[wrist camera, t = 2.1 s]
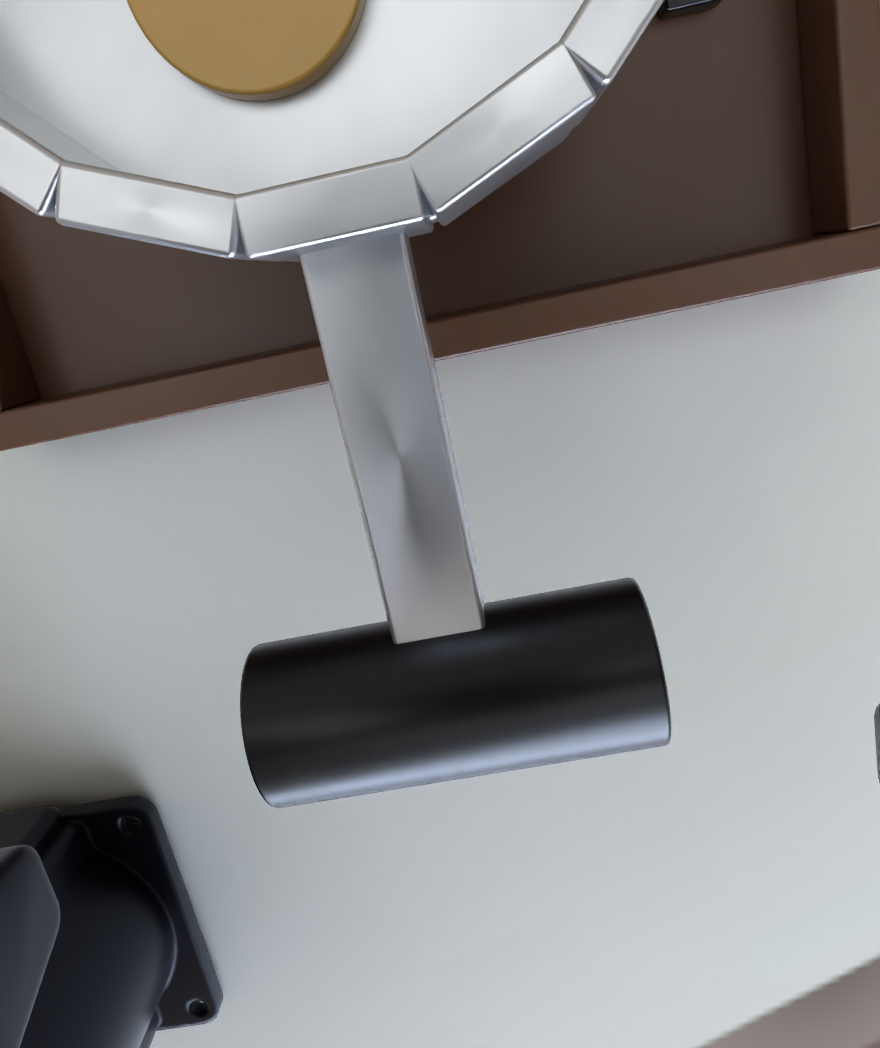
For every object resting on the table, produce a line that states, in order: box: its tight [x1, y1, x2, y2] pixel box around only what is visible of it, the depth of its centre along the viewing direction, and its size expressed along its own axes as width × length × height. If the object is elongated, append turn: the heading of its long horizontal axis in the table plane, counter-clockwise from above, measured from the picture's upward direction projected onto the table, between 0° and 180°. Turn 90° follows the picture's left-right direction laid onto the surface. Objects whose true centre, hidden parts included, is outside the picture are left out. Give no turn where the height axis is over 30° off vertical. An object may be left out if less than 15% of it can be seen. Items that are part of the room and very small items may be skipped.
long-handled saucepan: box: [0, 0, 671, 808], centre depth 9 cm, size 16×10×3 cm, turn 12°
